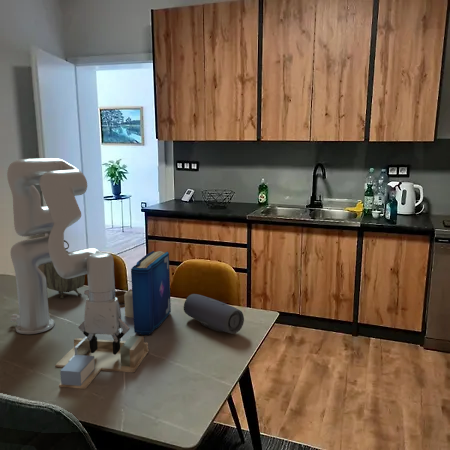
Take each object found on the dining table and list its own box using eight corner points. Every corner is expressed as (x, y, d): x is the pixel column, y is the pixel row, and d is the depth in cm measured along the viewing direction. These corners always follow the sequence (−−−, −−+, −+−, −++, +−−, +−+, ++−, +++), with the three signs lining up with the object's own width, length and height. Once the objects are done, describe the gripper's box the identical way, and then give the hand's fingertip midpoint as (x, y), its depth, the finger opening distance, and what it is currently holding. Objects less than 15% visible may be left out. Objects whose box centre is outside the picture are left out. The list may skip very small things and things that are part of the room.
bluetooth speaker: (245, 332, 152) (245, 305, 150) (226, 341, 145) (226, 312, 144) (201, 314, 168) (201, 289, 166) (182, 321, 161) (182, 295, 159)
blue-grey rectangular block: (61, 384, 118) (60, 370, 117) (76, 367, 127) (76, 354, 126) (80, 385, 117) (79, 372, 116) (95, 369, 126) (94, 356, 125)
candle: (127, 319, 163) (126, 293, 161) (123, 314, 168) (122, 289, 166) (141, 316, 166) (140, 291, 164) (137, 311, 170) (136, 287, 169)
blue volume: (150, 338, 147) (148, 266, 143) (131, 336, 149) (128, 265, 144) (171, 313, 168) (169, 250, 164) (153, 312, 170) (152, 249, 165)
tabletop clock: (86, 296, 187) (82, 239, 183) (70, 303, 179) (66, 243, 175) (60, 291, 193) (56, 236, 188) (44, 298, 185) (39, 240, 180)
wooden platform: (36, 384, 119) (34, 364, 118) (77, 345, 142) (75, 328, 141) (121, 391, 116) (120, 370, 114) (148, 350, 138) (148, 332, 137)
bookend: (68, 362, 129) (67, 346, 128) (82, 348, 138) (81, 333, 137) (78, 363, 129) (77, 347, 128) (91, 349, 138) (90, 334, 137)
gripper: (68, 297, 126) (72, 355, 130) (125, 300, 124) (128, 359, 127) (80, 289, 134) (83, 344, 137) (134, 291, 131) (137, 347, 135)
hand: (105, 351), depth 132 cm, fingers open, 6 cm apart
